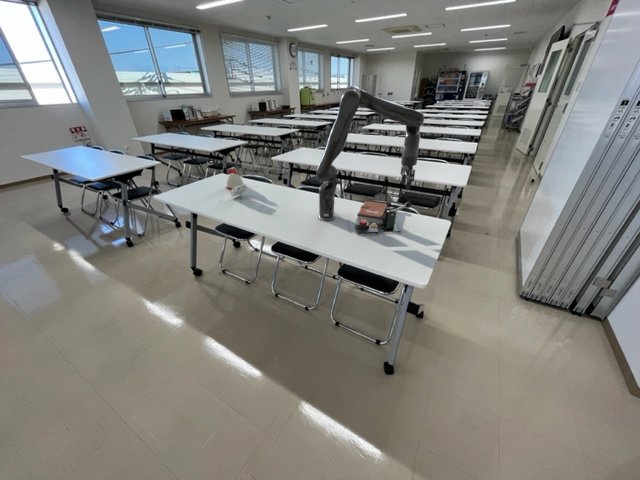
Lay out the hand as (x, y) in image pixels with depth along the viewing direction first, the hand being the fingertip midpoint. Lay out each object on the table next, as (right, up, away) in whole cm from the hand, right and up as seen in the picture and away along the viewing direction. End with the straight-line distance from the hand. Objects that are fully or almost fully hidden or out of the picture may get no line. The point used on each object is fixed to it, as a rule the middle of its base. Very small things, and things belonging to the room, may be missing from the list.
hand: (405, 186), depth 141 cm
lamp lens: (-15, -21, +8) cm, 27 cm away
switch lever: (0, -12, +8) cm, 15 cm away
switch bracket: (-6, -22, +14) cm, 27 cm away
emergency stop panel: (-18, -23, +12) cm, 32 cm away
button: (-21, -19, +12) cm, 31 cm away
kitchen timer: (-115, +15, +78) cm, 140 cm away
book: (-11, -13, +31) cm, 35 cm away
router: (-119, 0, +52) cm, 130 cm away
